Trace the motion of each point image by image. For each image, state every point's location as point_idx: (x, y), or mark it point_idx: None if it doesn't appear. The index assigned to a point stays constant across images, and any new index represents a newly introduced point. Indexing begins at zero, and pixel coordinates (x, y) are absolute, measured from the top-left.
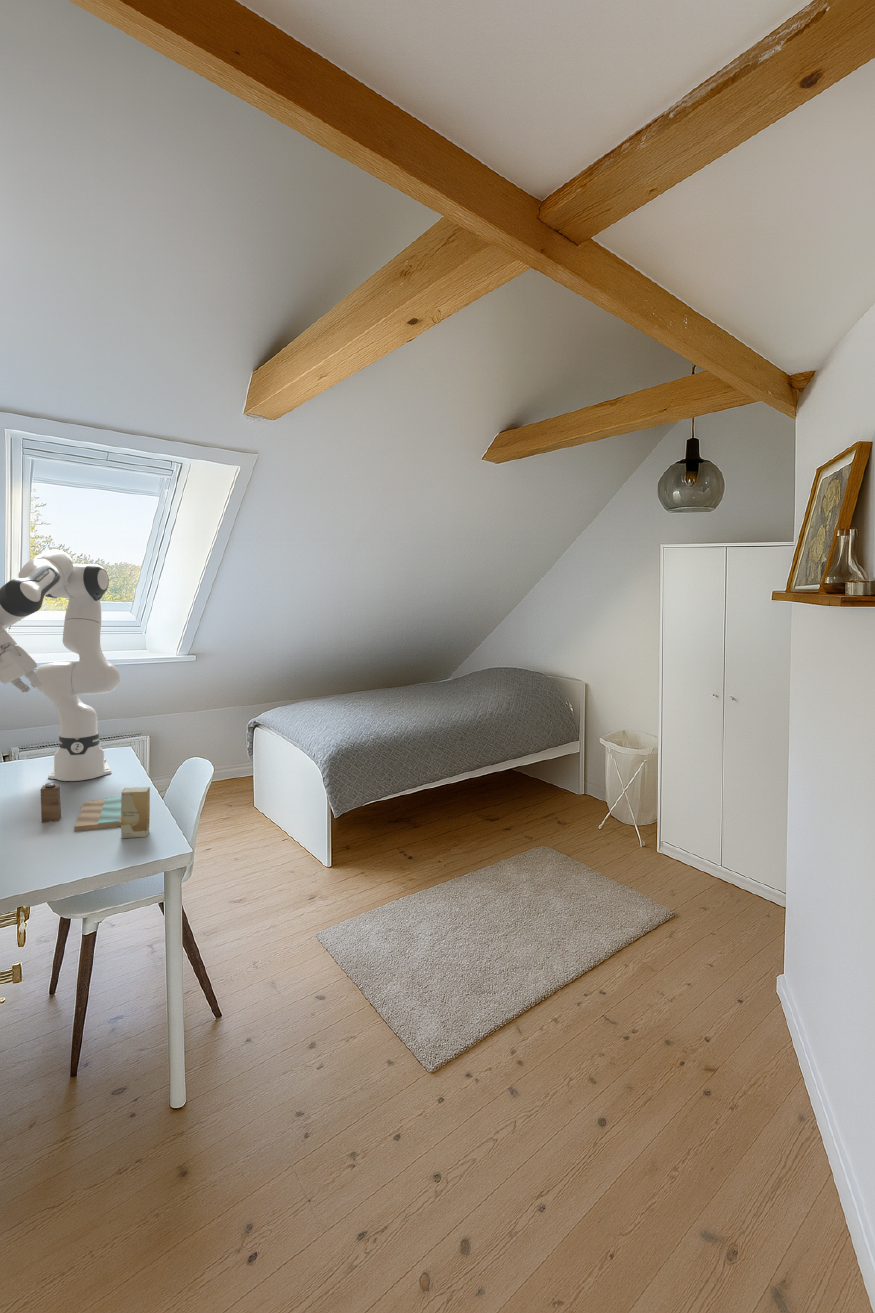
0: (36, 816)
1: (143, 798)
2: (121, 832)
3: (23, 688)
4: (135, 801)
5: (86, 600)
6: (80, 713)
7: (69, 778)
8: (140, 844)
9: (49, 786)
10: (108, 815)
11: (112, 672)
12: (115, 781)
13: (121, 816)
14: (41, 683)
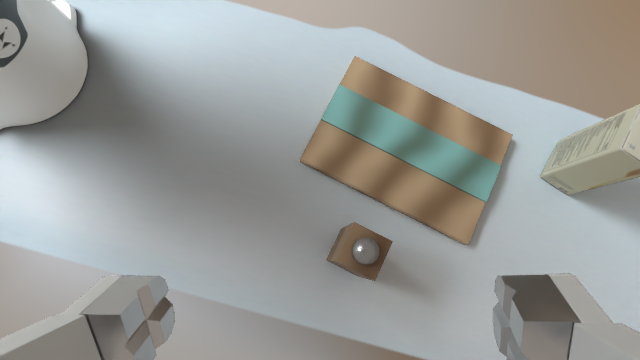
0: (303, 269)
1: None
2: (577, 192)
3: (148, 346)
4: None
5: None
6: None
7: (56, 106)
8: (617, 182)
9: (377, 257)
10: (451, 166)
11: None
12: (156, 32)
13: (604, 185)
14: (572, 276)
